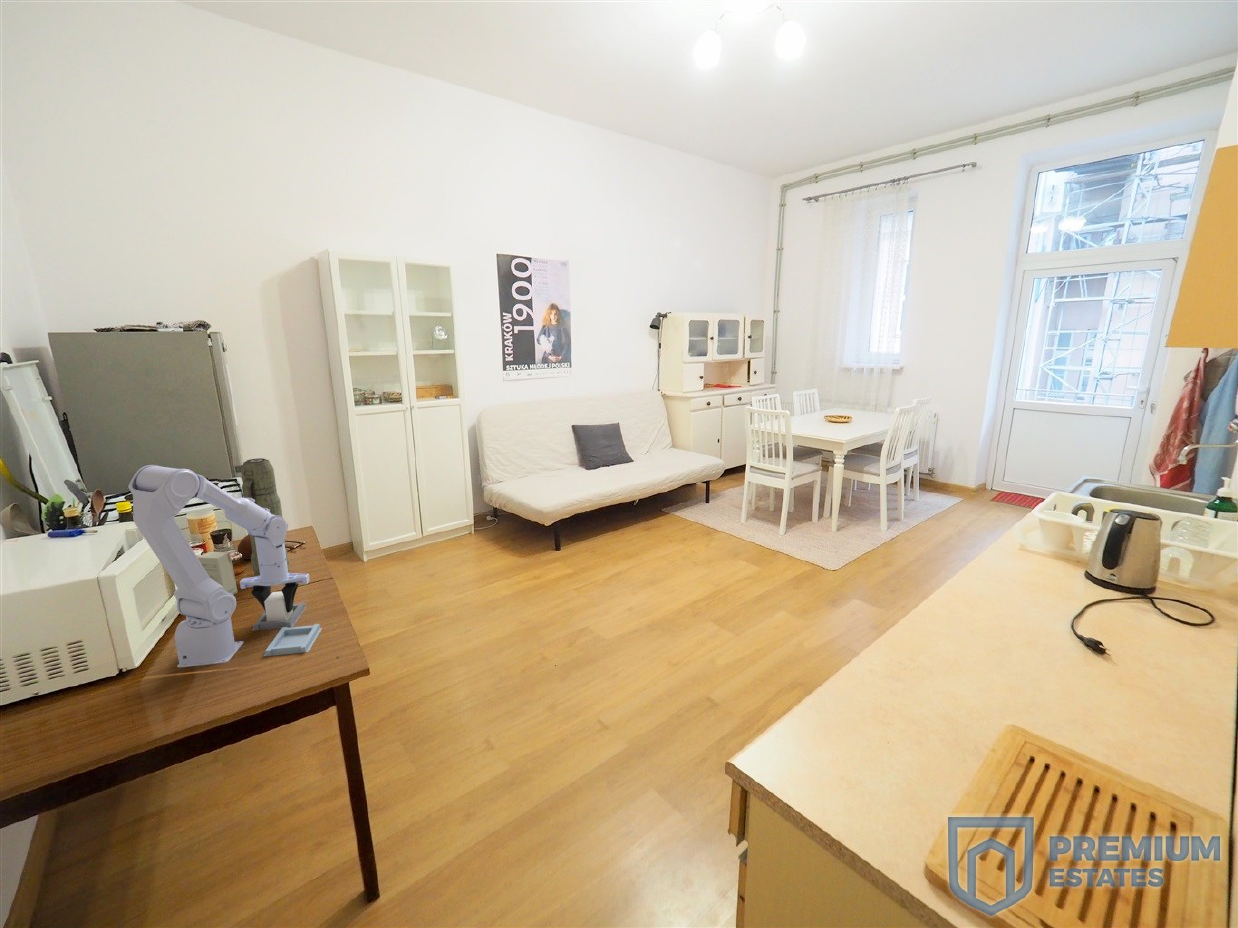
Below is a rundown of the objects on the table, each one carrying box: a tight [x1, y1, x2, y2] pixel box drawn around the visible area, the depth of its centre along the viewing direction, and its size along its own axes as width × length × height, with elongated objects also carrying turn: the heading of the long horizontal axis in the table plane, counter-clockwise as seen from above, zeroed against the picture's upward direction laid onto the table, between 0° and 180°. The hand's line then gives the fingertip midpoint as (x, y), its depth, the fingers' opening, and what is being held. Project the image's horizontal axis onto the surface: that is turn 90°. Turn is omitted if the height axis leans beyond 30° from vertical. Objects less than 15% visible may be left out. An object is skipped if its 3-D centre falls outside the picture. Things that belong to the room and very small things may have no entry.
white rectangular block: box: [264, 591, 293, 621], centre depth 129 cm, size 4×5×6 cm
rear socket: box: [251, 602, 308, 632], centre depth 130 cm, size 9×10×2 cm
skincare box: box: [197, 551, 238, 595], centre depth 139 cm, size 6×4×12 cm
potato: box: [236, 533, 252, 560], centre depth 166 cm, size 8×12×8 cm, turn 0°
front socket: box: [263, 623, 323, 657], centre depth 120 cm, size 9×10×2 cm
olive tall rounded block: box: [240, 457, 290, 577], centre depth 150 cm, size 9×12×35 cm
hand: (279, 611), depth 130 cm, fingers closed on white rectangular block, 4 cm apart
